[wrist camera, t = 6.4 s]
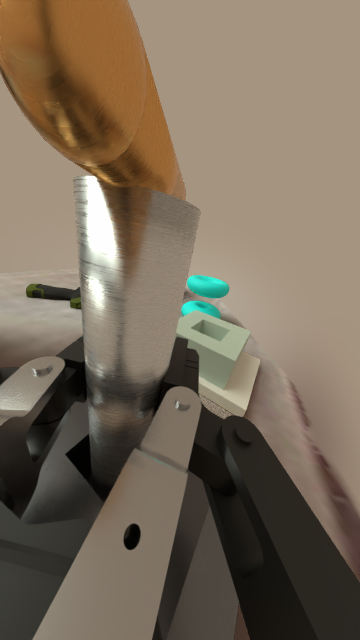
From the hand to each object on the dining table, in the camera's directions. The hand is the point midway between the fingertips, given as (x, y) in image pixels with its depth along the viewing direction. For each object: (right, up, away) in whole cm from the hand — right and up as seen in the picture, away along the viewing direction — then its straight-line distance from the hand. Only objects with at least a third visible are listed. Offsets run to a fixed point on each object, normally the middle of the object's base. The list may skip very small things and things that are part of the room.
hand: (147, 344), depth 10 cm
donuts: (+7, +2, +34) cm, 34 cm away
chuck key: (-2, -10, +1) cm, 10 cm away
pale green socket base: (+5, -5, +17) cm, 19 cm away
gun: (-24, +8, +34) cm, 43 cm away
